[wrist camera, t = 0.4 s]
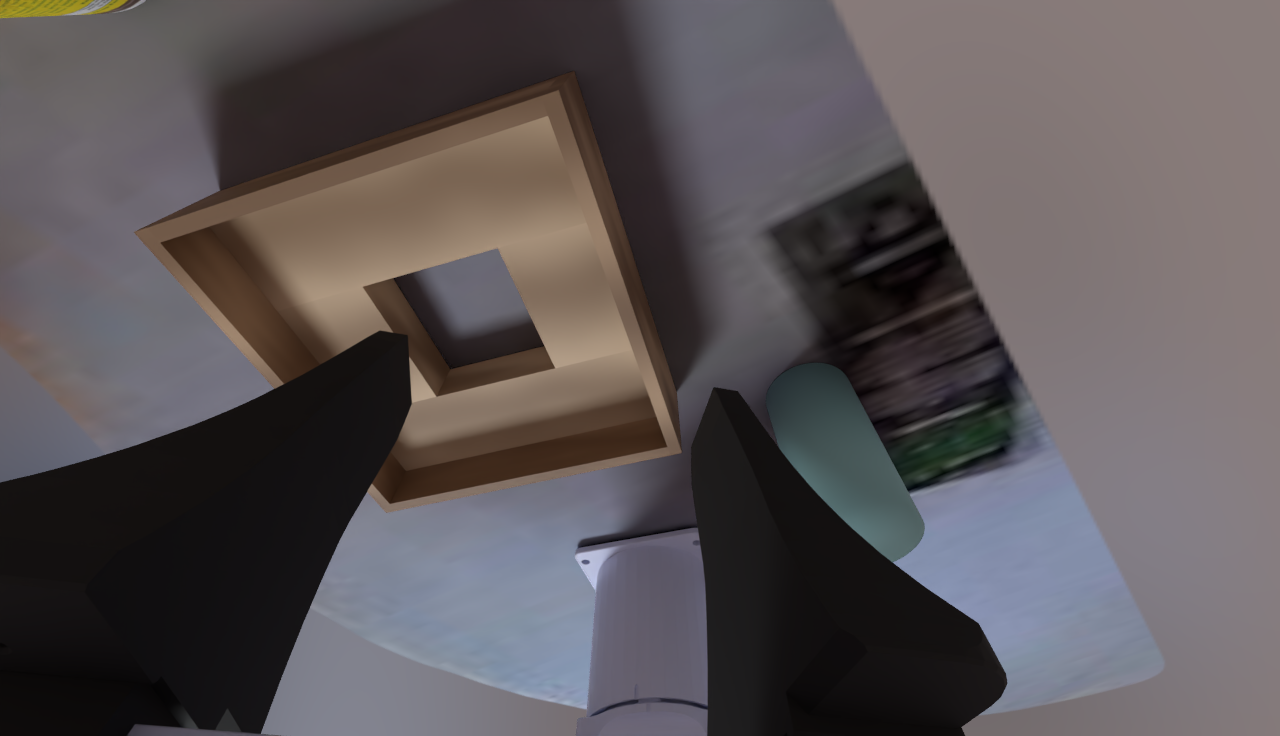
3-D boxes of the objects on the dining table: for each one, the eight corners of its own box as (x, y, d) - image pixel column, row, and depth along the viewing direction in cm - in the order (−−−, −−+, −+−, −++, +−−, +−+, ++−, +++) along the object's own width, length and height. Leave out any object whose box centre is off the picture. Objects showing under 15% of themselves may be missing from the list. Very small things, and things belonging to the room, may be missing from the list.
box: (676, 392, 25) (682, 453, 22) (416, 450, 27) (386, 512, 24) (574, 70, 17) (558, 90, 14) (219, 191, 19) (133, 232, 16)
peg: (852, 417, 26) (922, 560, 19) (771, 434, 26) (813, 577, 20) (848, 354, 24) (926, 492, 17) (760, 373, 24) (803, 513, 18)
